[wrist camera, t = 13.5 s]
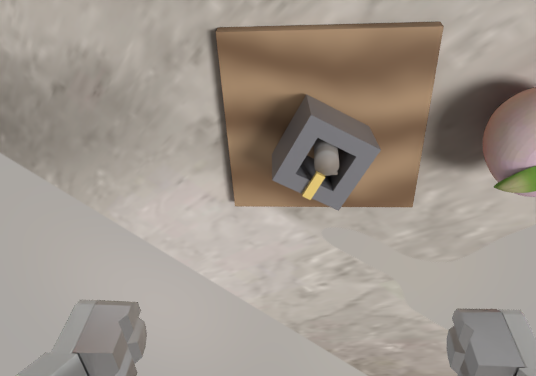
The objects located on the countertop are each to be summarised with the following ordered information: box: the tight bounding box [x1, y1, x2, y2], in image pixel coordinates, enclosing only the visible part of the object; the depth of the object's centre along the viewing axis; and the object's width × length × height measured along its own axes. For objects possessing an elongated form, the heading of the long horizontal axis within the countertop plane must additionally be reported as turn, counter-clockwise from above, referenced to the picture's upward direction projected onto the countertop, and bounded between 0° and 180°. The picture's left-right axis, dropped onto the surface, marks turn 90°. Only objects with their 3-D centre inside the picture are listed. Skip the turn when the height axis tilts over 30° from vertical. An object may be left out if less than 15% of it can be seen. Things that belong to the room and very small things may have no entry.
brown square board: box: [216, 22, 444, 207], centre depth 41 cm, size 18×18×7 cm
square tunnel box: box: [272, 94, 381, 211], centre depth 40 cm, size 6×6×5 cm
